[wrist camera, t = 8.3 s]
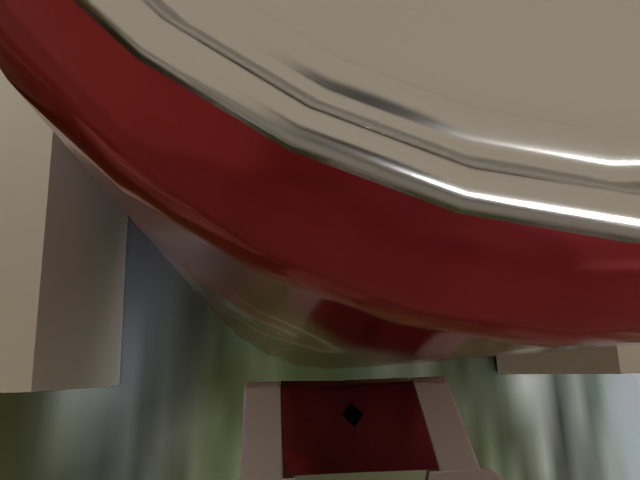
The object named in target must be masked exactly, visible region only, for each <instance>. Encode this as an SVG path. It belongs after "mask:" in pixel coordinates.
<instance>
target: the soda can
mask: <svg viewBox="0 0 640 480" xmlns="http://www.w3.org/2000/svg"><path fill="white" fill-rule="evenodd" d="M0 69H1V71H2V72H3V74H4V75H5V77H6V78H7V80H8V81H9V82H10V83H11V84H12V85H13V87H14V88H15V89H16V90H17V91H18V92H19V93H20V94H21V96H22V97H23V98H24V99H25V100H26V101H27V102H28V103H29V105H30V106H31V107H32V108H33V109H34V110H35V111H36V112H37V114H38V115H39V116H40V117H41V118H42V119H43V120H44V121H45V123H46V124H47V125H48V126H49V127H50V128H51V129H52V131H53V132H54V133H55V134H56V135H57V136H58V137H59V138H60V140H61V141H62V142H63V143H64V144H65V145H66V146H67V147H68V149H69V150H70V151H71V152H72V153H73V154H74V155H75V156H76V158H77V159H78V160H79V161H80V162H81V163H82V164H83V165H84V167H85V168H86V169H87V170H88V171H89V172H90V173H91V174H92V176H93V177H94V178H95V179H96V180H97V181H98V182H99V183H100V185H101V186H102V187H103V188H104V189H105V190H106V191H107V192H108V194H109V195H110V196H111V197H112V198H113V199H114V200H115V201H116V203H117V204H118V205H119V206H120V207H121V208H122V209H123V210H124V212H125V213H126V214H127V215H128V216H129V217H130V218H131V220H132V221H133V222H134V223H135V224H136V225H137V226H138V227H139V229H140V230H141V231H142V232H143V233H144V234H145V235H146V236H147V238H148V239H149V240H150V241H151V242H152V243H153V244H154V245H155V247H156V248H157V249H158V250H159V251H160V252H161V253H162V254H163V256H164V257H165V258H166V259H167V260H168V261H169V262H170V263H171V265H172V266H173V267H174V268H175V269H176V270H177V271H178V272H179V274H180V275H181V276H182V277H183V278H184V279H185V280H186V281H187V283H188V284H189V285H190V286H191V287H192V288H193V289H194V290H195V292H196V293H197V294H198V295H199V296H200V297H201V298H202V300H203V301H204V302H205V303H206V304H207V305H208V306H209V307H210V309H211V310H212V311H213V312H214V313H215V314H216V315H217V316H218V317H219V318H220V319H221V320H222V321H223V322H224V323H225V324H226V325H227V326H228V327H229V328H231V329H232V330H233V331H234V332H235V333H236V334H237V335H238V336H239V337H241V338H242V339H244V340H245V341H247V342H249V343H250V344H252V345H253V346H255V347H257V348H258V349H260V350H262V351H263V352H265V353H267V354H270V355H272V356H275V357H278V358H280V359H283V360H286V361H288V362H291V363H294V364H298V365H305V366H311V367H317V368H324V369H334V368H356V367H369V366H381V365H393V364H405V363H418V362H430V361H442V360H455V359H467V358H479V357H491V356H504V355H516V354H528V353H541V352H553V351H565V350H577V349H590V348H602V347H614V346H627V345H639V344H640V0H0Z"/></svg>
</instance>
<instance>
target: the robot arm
mask: <svg viewBox="0 0 640 480" xmlns="http://www.w3.org/2000/svg"><path fill="white" fill-rule="evenodd" d="M240 480H503V479H502V478H501V477H499V476H498V475H497V474H496V473H495V472H494V471H492V470H491V469H480V467H479V464H478V462H477V459H476V456H475V454H474V451H473V448H472V446H471V443H470V440H469V438H468V435H467V432H466V430H465V427H464V424H463V422H462V419H461V416H460V414H459V411H458V409H457V406H456V403H455V401H454V398H453V395H452V393H451V390H450V387H449V385H448V382H447V381H446V380H445V379H444V378H443V377H416V378H410V379H408V378H389V379H365V380H344V381H281V384H280V382H246V384H245V389H244V402H243V424H242V446H241V468H240Z"/></svg>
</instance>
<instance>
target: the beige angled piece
mask: <svg viewBox="0 0 640 480" xmlns="http://www.w3.org/2000/svg"><path fill="white" fill-rule="evenodd" d="M127 225H128V215H127V214H126V213H125V212H124V210H123V209H122V208H121V207H120V206H119V205H118V204H117V203H116V201H115V200H114V199H113V198H112V197H111V196H110V195H109V194H108V192H107V191H106V190H105V189H104V188H103V187H102V186H101V185H100V183H99V182H98V181H97V180H96V179H95V178H94V177H93V176H92V174H91V173H90V172H89V171H88V170H87V169H86V168H85V167H84V165H83V164H82V163H81V162H80V161H79V160H78V159H77V158H76V156H75V155H74V154H73V153H72V152H71V151H70V150H69V149H68V147H67V146H66V145H65V144H64V143H63V142H62V141H61V140H60V138H59V137H58V136H57V135H56V134H55V133H54V132H53V131H52V129H51V128H50V127H49V126H48V125H47V124H46V123H45V121H44V120H43V119H42V118H41V117H40V116H39V115H38V114H37V112H36V111H35V110H34V109H33V108H32V107H31V106H30V105H29V103H28V102H27V101H26V100H25V99H24V98H23V97H22V96H21V94H20V93H19V92H18V91H17V90H16V89H15V88H14V87H13V85H12V84H11V83H10V82H9V81H8V80H7V78H6V77H5V75H4V74H3V72H2V71H1V69H0V393H15V392H38V391H51V390H65V389H79V388H92V387H106V386H119V384H120V364H121V344H122V324H123V304H124V284H125V265H126V245H127ZM496 360H497V370H498V374H625V373H640V344H639V345H627V346H614V347H602V348H590V349H577V350H565V351H553V352H541V353H528V354H516V355H504V356H496Z"/></svg>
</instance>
